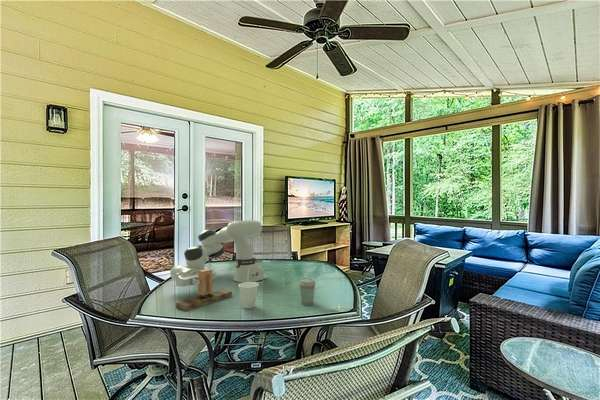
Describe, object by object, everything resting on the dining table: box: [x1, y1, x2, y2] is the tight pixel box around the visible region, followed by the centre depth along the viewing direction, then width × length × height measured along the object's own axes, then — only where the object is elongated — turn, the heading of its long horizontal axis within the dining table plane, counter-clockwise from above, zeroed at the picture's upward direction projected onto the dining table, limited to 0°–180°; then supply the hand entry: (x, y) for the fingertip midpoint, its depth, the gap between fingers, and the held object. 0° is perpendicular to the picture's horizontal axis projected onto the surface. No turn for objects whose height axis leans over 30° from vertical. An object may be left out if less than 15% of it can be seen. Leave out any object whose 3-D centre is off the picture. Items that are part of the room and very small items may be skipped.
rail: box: [175, 288, 233, 312], centre depth 154 cm, size 28×8×2 cm, turn 143°
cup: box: [238, 281, 259, 310], centre depth 147 cm, size 10×10×11 cm
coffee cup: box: [298, 277, 316, 306], centre depth 152 cm, size 8×8×12 cm
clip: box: [197, 268, 213, 296], centre depth 153 cm, size 6×4×12 cm, turn 143°
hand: (206, 280), depth 153 cm, fingers closed on clip, 6 cm apart
